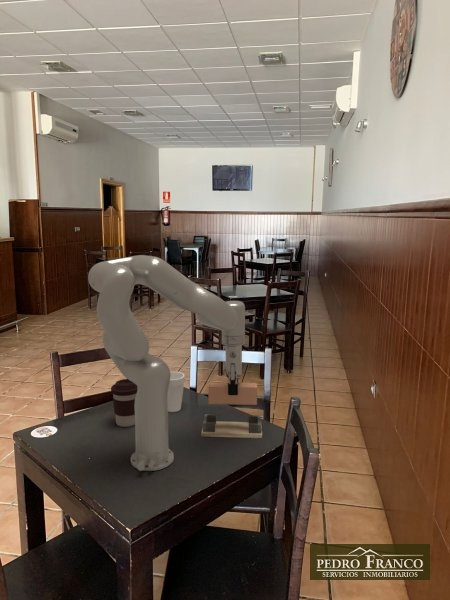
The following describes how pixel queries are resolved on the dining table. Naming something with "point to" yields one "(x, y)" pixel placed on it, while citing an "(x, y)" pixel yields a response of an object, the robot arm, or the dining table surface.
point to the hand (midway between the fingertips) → (233, 391)
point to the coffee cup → (124, 402)
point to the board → (232, 427)
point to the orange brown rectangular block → (220, 395)
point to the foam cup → (175, 391)
